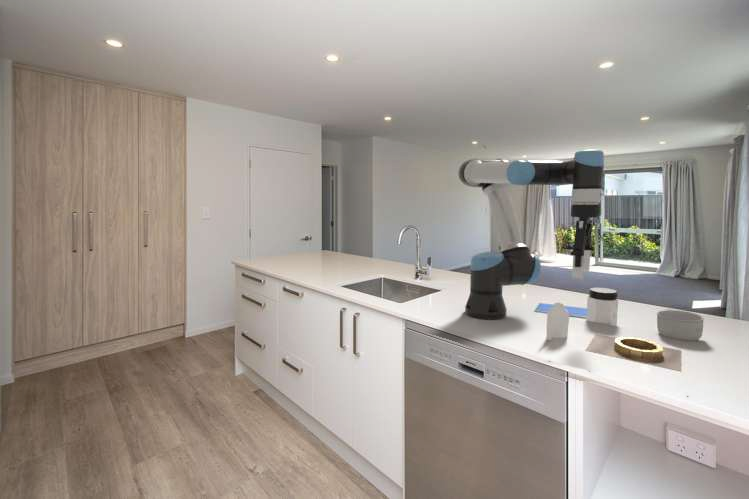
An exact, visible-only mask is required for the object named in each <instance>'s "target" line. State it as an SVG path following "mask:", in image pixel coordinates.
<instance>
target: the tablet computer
mask: <svg viewBox="0 0 749 499" xmlns="http://www.w3.org/2000/svg"><path fill="white" fill-rule="evenodd" d="M553 304H554V303H553ZM553 304H550V303H543V302H542V303H541V302H539V303H537V305H536V307H535V308H534V310H533V312H536V313H543V314H548V311H549V310H550V309H551V308H552V307H553ZM564 306H565V308H566V310H567V311H568V313H569V317H574V318H579V319H580V318H583V319H586V316H587V307H577V306H569V305H564Z"/></svg>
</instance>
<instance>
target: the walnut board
mask: <svg viewBox="0 0 749 499" xmlns="http://www.w3.org/2000/svg"><path fill="white" fill-rule="evenodd" d="M616 338H617V337H613V336H607V335H604V334H603V335H602V334H597V333H596V334H595V335H594V336H593V338H592V339H591V341H590V343H589V344H588V346H587V347H586V349H585V352H591V353H594V354H595V353H596V354H599V355H603V356H609V357H614V358H616V359H621V360H626V361H627V360H628V361H632V362H636V363H641V364H645V365H648V366H653V367H659V368H663V369H666V370H667V369H668V370H673V371H677V372H682V350H680V349H675V348H671V347H665V346H662V347H663V353H662V358H660V359H656V360H651V359H640V358H635V357H631V356H627V355H625V354H622V353H620V352H618V351H617V350H616V349H614V342H615V339H616ZM626 346H627V345H626ZM628 347H631V348H635V349H640V350H649V349H646V348H642V347H637V346H628Z"/></svg>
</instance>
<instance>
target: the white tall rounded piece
mask: <svg viewBox="0 0 749 499" xmlns="http://www.w3.org/2000/svg"><path fill="white" fill-rule="evenodd" d="M565 306H566V305H564V303H561V302H559V301H557V302H554V303H553V307H552V308H551V309H550V310H549V311H548V313H547V317H546V319H547V320H546V334H545V336H546V338H545V339H546V340H547V341H550V342H551V341H552V340H554V338H555V339H565V338H568V335H569V334H568V333H569V325H570V324H569V322H570V316H569V313H568V311H567V310H566V308H565Z"/></svg>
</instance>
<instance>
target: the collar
mask: <svg viewBox="0 0 749 499" xmlns="http://www.w3.org/2000/svg"><path fill="white" fill-rule="evenodd" d="M615 338H616V339H615V342H614V349H616V350H617V351H618V352H620V353H622V354H625V355H627V356H631V357H635V358H640V359H651V360H656V359H660V358H662V353H663V347H664V346H661V344H659V343H657V342H654V341H650V340H648V339H644V338H638V337H630V336H628V337H627V336H620V337H615ZM626 345H627V346H626ZM628 346H637V347H642V348H646V349H649V350H640V349H635V348H631V347H628Z"/></svg>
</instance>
